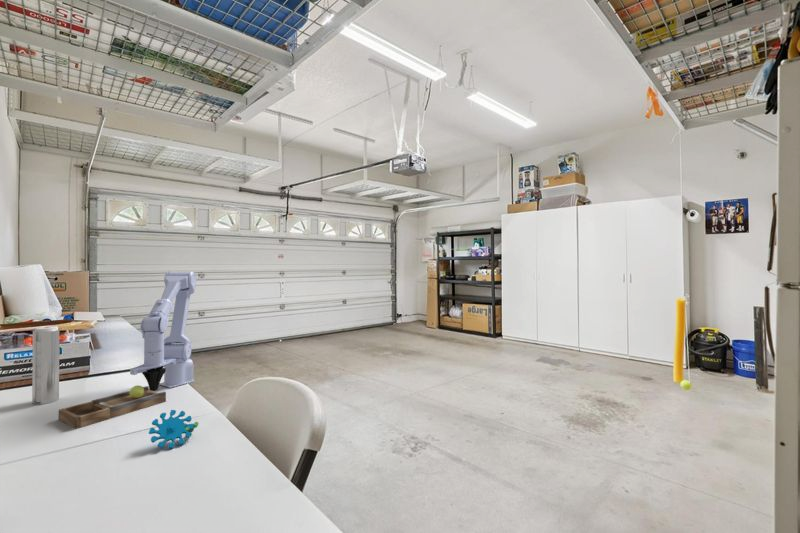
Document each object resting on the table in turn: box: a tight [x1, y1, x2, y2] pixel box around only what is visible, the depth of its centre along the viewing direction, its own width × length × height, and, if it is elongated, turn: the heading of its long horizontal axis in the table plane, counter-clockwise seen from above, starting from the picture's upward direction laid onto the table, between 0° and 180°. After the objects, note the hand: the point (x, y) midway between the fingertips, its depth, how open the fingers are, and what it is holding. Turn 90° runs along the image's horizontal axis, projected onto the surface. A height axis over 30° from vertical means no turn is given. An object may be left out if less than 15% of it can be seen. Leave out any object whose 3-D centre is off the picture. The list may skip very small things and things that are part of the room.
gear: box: [148, 409, 199, 449], centre depth 96 cm, size 11×6×10 cm
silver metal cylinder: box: [31, 325, 60, 406], centre depth 122 cm, size 6×6×25 cm
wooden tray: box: [58, 385, 167, 430], centre depth 115 cm, size 24×12×3 cm, turn 151°
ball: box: [129, 385, 144, 398], centre depth 121 cm, size 4×4×4 cm
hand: (153, 390), depth 125 cm, fingers closed
